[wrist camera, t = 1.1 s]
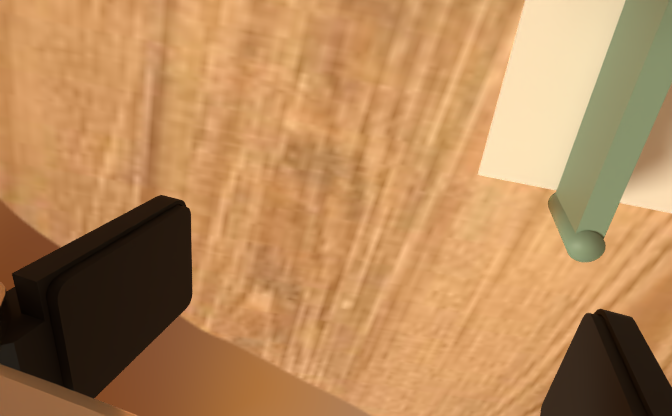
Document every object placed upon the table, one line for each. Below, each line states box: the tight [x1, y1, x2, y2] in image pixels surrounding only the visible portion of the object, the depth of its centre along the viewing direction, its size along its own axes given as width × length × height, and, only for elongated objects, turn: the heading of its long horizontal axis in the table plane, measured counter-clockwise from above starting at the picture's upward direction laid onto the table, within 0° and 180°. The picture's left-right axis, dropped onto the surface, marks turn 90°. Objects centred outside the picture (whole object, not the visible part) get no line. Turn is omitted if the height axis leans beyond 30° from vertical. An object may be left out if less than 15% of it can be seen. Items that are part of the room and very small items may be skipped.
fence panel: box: [548, 0, 672, 262], centre depth 20 cm, size 13×2×6 cm, turn 173°
